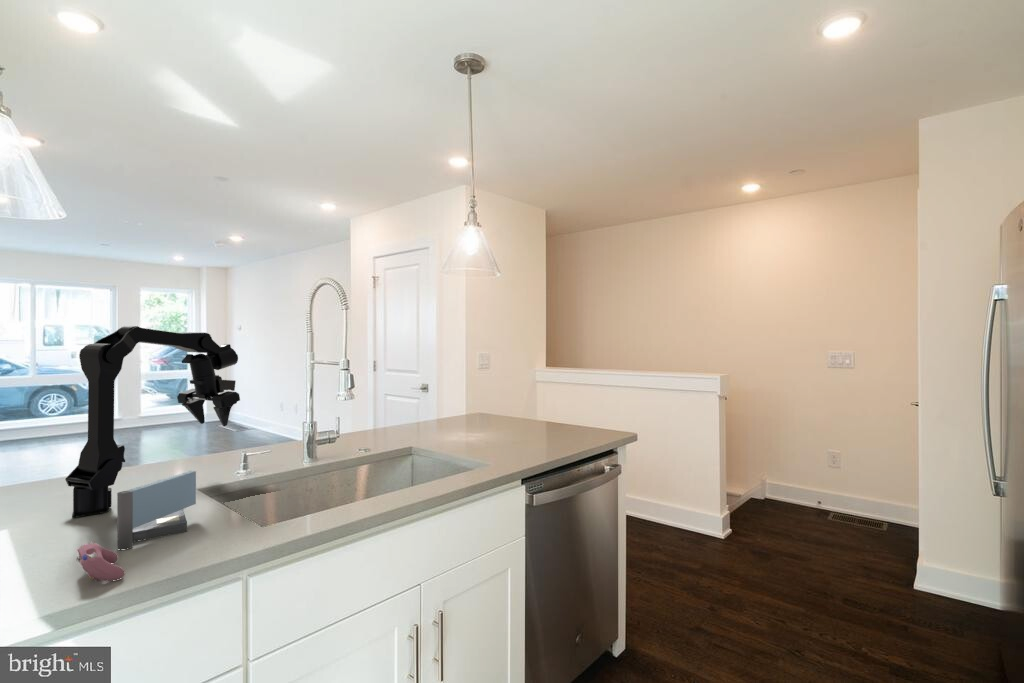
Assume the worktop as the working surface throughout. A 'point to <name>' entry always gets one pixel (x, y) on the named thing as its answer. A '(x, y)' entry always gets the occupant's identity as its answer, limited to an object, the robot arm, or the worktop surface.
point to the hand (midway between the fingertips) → (213, 424)
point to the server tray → (162, 526)
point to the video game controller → (99, 562)
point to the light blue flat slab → (152, 504)
